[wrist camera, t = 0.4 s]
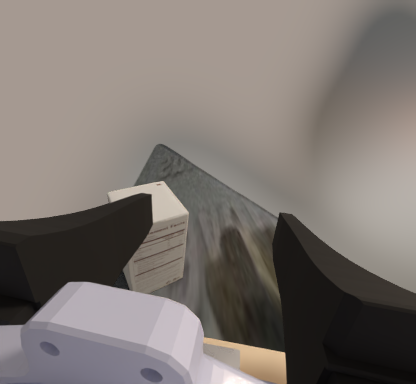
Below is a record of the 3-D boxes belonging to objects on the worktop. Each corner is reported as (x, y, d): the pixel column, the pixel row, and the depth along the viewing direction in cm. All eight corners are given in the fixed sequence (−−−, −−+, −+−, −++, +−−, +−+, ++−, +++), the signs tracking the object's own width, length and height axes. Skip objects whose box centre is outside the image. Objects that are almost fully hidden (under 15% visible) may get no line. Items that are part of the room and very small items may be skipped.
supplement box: (117, 260, 32) (105, 190, 25) (164, 243, 36) (164, 178, 29) (131, 303, 27) (121, 231, 20) (184, 279, 31) (190, 211, 24)
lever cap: (237, 425, 18) (241, 420, 17) (165, 410, 18) (166, 405, 17) (238, 354, 22) (241, 347, 21) (179, 342, 22) (180, 335, 21)
